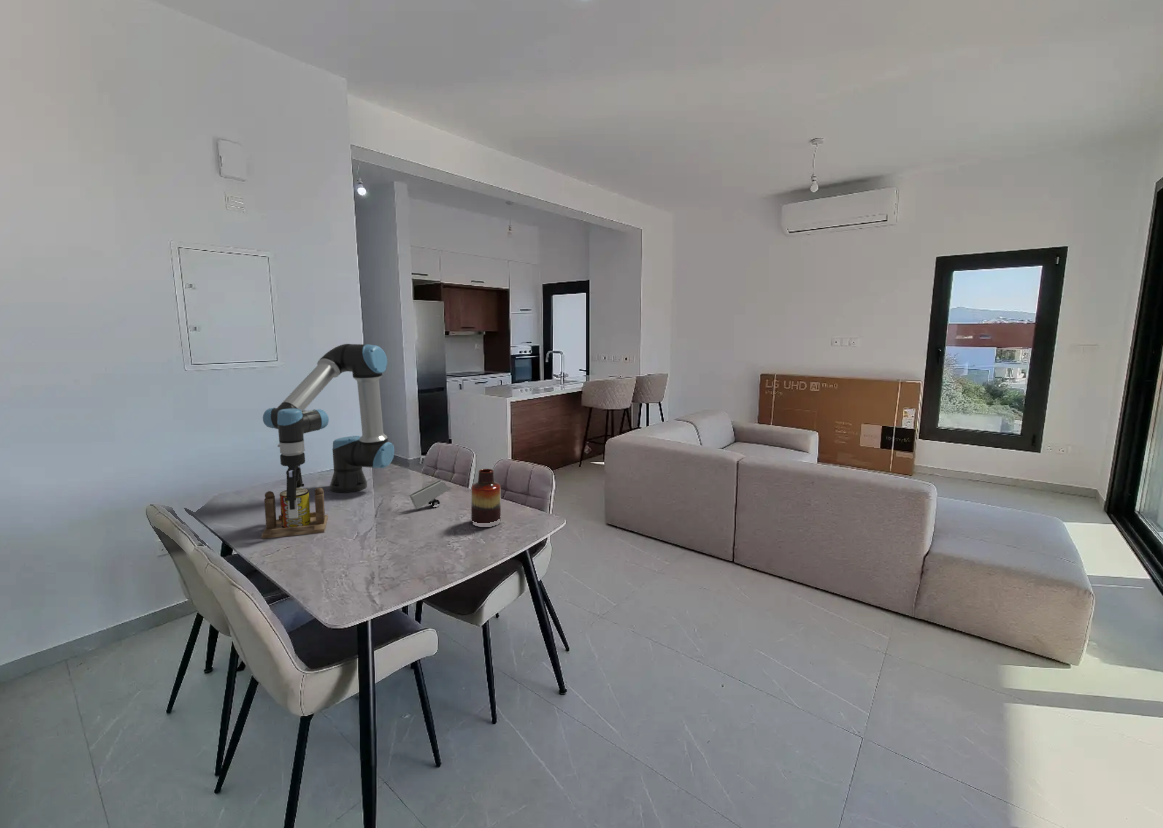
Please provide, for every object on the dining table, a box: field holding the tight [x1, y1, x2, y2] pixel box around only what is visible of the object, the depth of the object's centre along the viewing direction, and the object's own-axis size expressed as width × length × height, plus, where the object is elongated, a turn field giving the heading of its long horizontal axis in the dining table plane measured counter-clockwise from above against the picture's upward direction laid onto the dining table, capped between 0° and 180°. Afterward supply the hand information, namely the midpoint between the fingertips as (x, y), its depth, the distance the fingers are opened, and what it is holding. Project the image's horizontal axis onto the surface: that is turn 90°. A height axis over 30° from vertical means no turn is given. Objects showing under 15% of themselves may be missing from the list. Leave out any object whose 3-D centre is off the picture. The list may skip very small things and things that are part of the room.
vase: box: [470, 468, 502, 523], centre depth 192 cm, size 11×11×20 cm
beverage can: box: [279, 487, 311, 528], centre depth 182 cm, size 9×9×12 cm
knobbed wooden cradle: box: [260, 487, 329, 540], centre depth 182 cm, size 19×15×14 cm
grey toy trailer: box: [408, 479, 450, 510], centre depth 208 cm, size 4×10×15 cm
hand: (296, 511), depth 182 cm, fingers open, 13 cm apart
